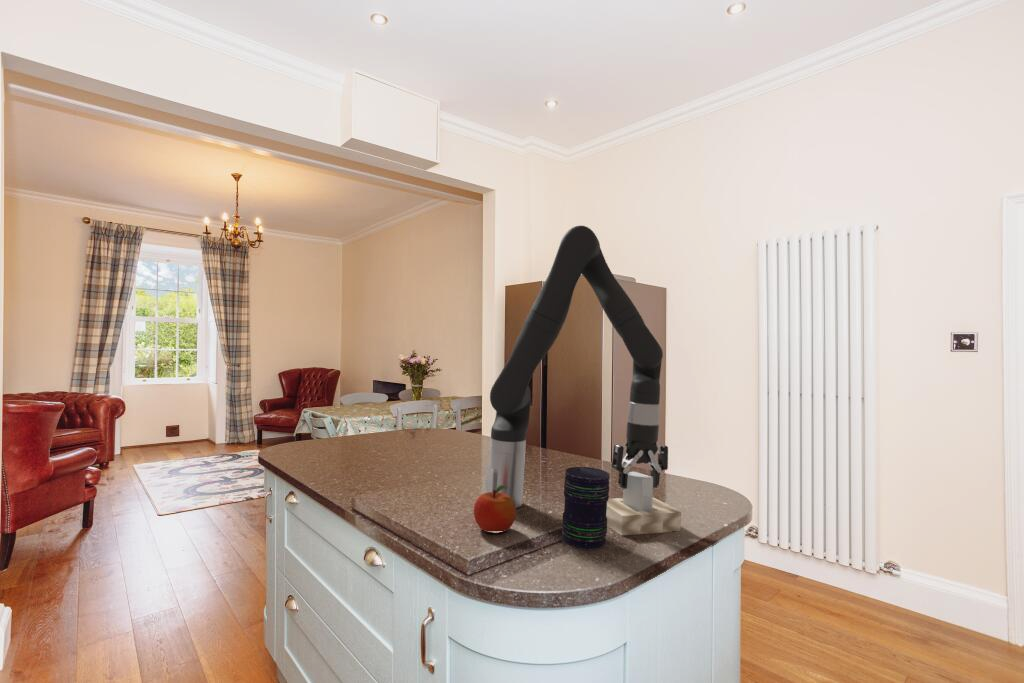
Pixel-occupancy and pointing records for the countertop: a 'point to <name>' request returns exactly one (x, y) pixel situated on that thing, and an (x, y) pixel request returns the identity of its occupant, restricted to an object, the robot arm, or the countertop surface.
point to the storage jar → (585, 507)
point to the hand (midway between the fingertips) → (638, 487)
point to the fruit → (495, 510)
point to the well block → (642, 518)
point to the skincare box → (638, 492)
